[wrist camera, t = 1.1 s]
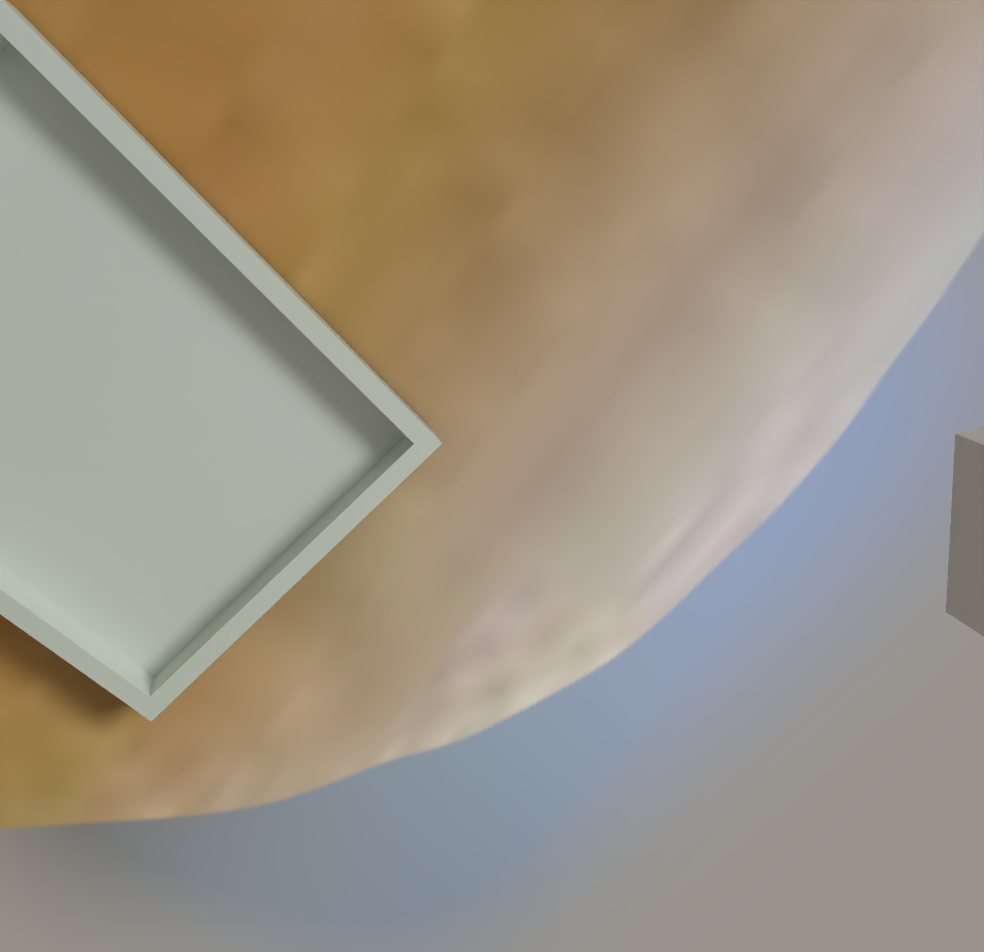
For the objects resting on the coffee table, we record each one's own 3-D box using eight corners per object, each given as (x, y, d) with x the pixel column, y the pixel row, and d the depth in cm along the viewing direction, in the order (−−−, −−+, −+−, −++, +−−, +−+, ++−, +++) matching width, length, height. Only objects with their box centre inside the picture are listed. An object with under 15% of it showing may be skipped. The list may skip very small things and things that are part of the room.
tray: (-323, 343, 28) (-365, 355, 26) (14, 6, 27) (-4, -7, 25) (156, 692, 35) (151, 721, 33) (431, 429, 34) (442, 443, 32)
